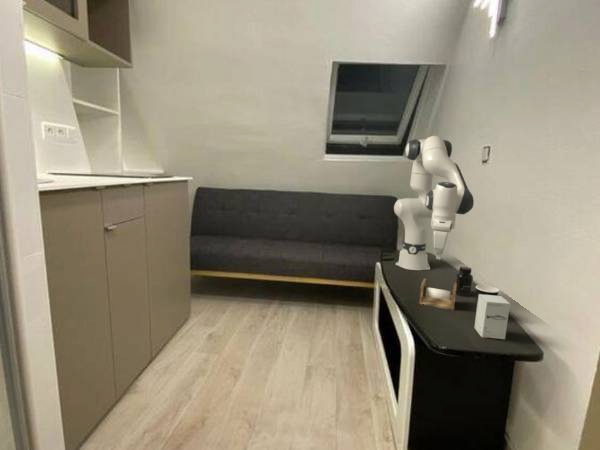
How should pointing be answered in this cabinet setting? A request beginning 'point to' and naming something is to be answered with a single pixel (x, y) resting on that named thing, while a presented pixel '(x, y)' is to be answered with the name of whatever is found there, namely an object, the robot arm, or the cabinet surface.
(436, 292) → the paper roll
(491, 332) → the supplement box
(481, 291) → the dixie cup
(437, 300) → the holder
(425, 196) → the robot arm
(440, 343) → the cabinet surface
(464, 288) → the supplement bottle
